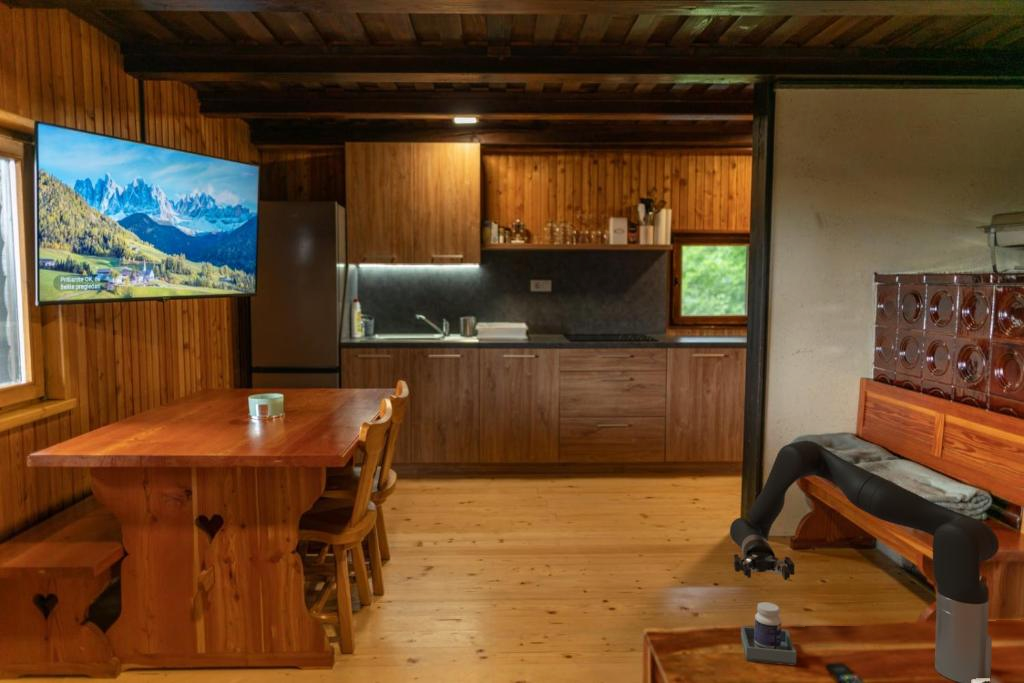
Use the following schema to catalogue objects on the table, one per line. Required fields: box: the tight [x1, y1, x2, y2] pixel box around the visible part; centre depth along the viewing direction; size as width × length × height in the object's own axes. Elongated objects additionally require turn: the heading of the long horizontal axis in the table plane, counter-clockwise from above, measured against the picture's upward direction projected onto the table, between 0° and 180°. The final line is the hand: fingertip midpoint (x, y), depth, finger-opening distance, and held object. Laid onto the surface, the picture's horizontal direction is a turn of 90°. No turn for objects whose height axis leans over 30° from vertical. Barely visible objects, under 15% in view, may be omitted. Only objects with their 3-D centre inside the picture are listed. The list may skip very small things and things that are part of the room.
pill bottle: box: [754, 601, 782, 650], centre depth 156 cm, size 6×6×10 cm
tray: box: [740, 625, 797, 666], centre depth 156 cm, size 10×10×3 cm
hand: (767, 575), depth 166 cm, fingers open, 8 cm apart
